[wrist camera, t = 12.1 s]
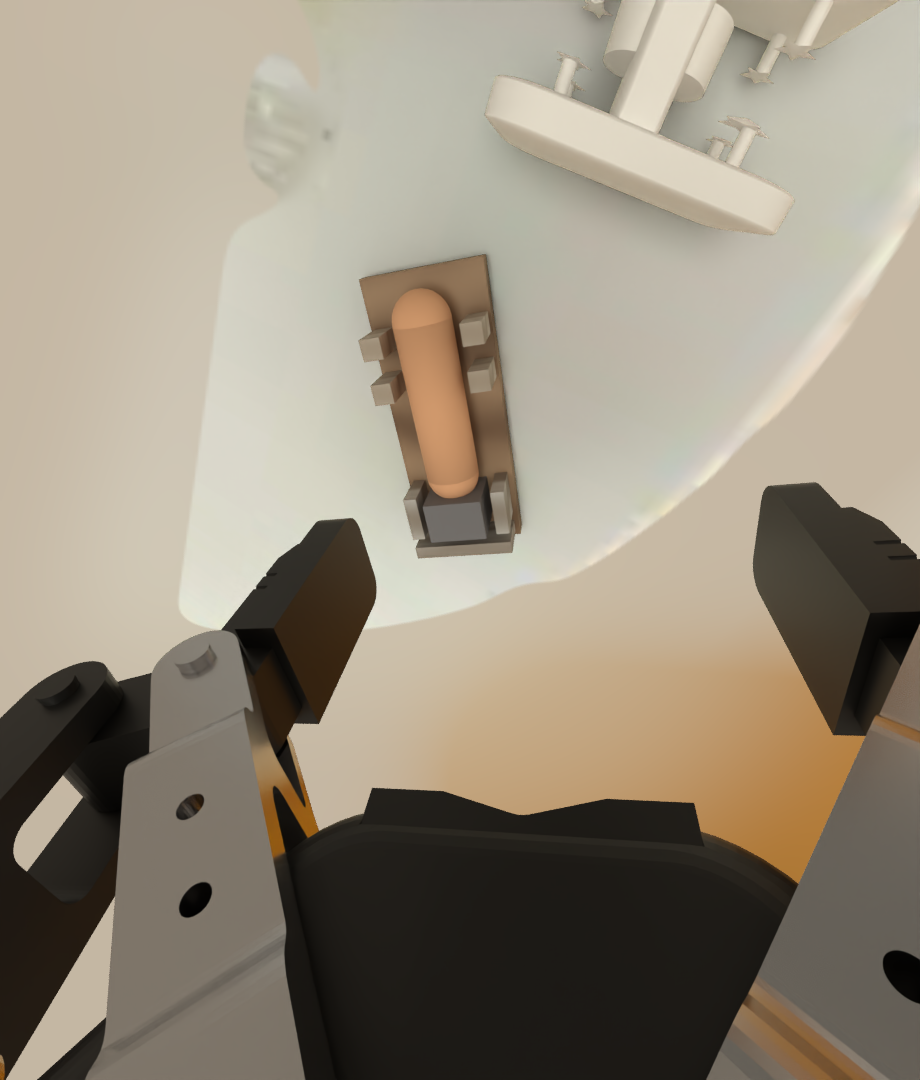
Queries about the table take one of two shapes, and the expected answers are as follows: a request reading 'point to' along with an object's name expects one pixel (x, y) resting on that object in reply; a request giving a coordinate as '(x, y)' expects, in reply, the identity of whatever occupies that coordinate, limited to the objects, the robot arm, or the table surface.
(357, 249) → the table surface
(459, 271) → the brown pegged board
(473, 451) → the tan rounded rod
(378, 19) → the table surface
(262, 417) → the table surface
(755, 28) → the cable organizer
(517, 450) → the table surface
